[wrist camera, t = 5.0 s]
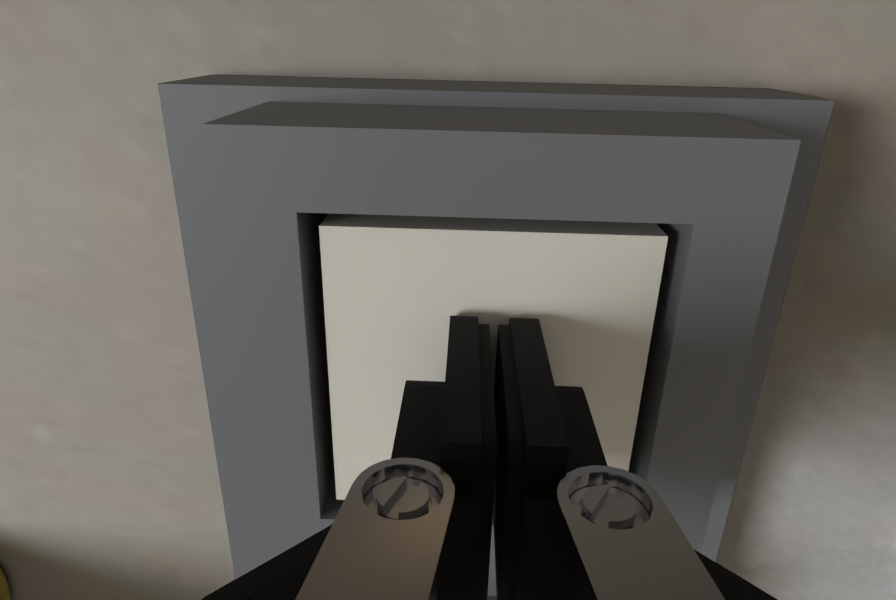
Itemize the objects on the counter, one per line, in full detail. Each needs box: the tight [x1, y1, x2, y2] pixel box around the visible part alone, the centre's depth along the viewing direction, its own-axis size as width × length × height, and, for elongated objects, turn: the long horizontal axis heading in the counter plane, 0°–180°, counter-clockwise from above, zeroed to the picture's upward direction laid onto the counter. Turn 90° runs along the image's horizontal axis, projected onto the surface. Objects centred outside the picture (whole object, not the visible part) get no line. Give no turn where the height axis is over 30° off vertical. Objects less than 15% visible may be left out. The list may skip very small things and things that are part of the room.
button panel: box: [158, 75, 834, 600], centre depth 17 cm, size 24×14×6 cm, turn 179°
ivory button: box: [319, 213, 668, 500], centre depth 13 cm, size 6×6×3 cm
